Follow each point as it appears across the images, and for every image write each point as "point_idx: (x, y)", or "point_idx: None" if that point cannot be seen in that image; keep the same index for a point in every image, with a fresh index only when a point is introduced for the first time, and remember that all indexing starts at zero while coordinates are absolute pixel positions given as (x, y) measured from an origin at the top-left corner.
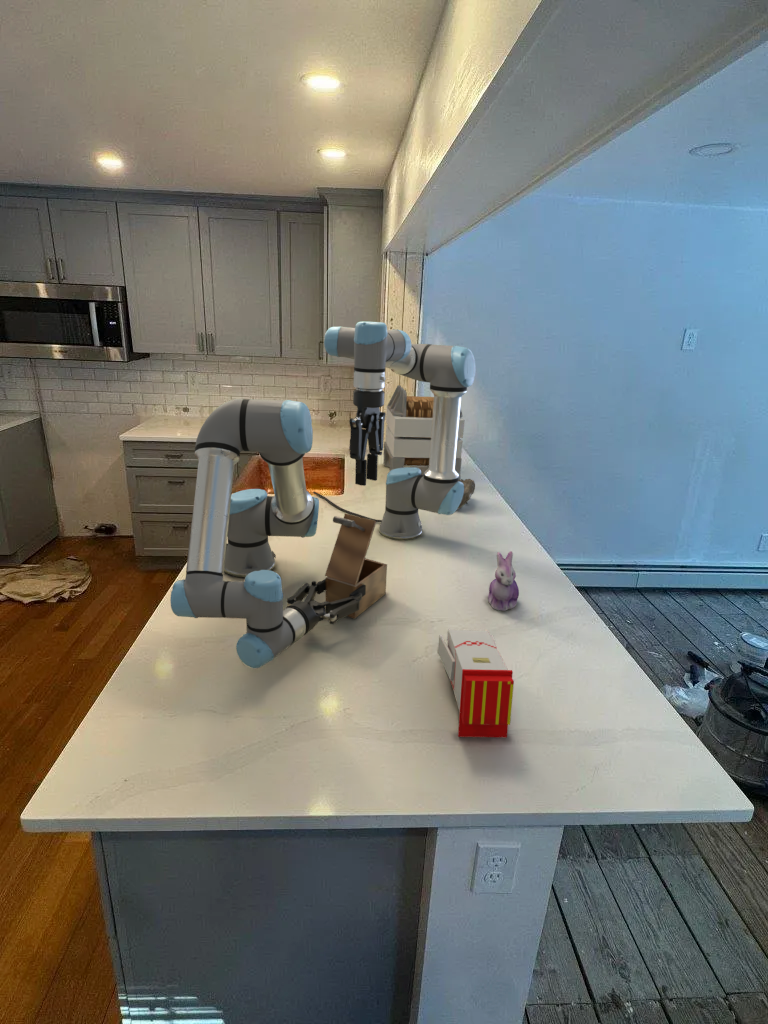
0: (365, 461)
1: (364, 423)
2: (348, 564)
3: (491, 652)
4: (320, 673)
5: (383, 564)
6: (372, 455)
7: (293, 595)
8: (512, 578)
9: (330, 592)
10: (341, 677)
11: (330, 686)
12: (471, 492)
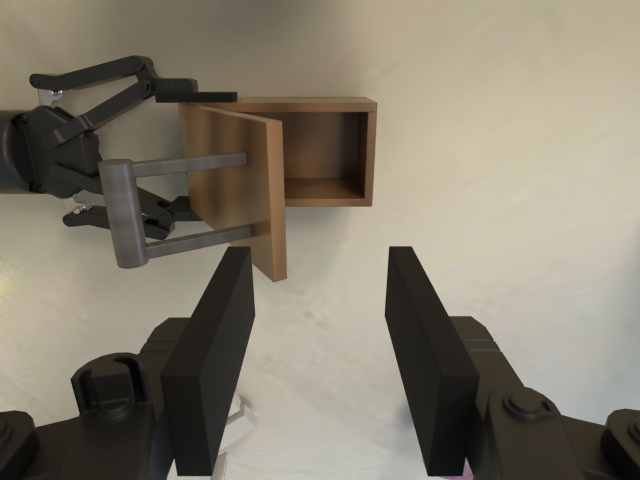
0: (188, 465)
1: None
2: (201, 181)
3: None
4: (24, 233)
5: (365, 198)
6: (434, 435)
7: (59, 76)
8: None
9: None
10: (45, 268)
11: (13, 267)
12: None
